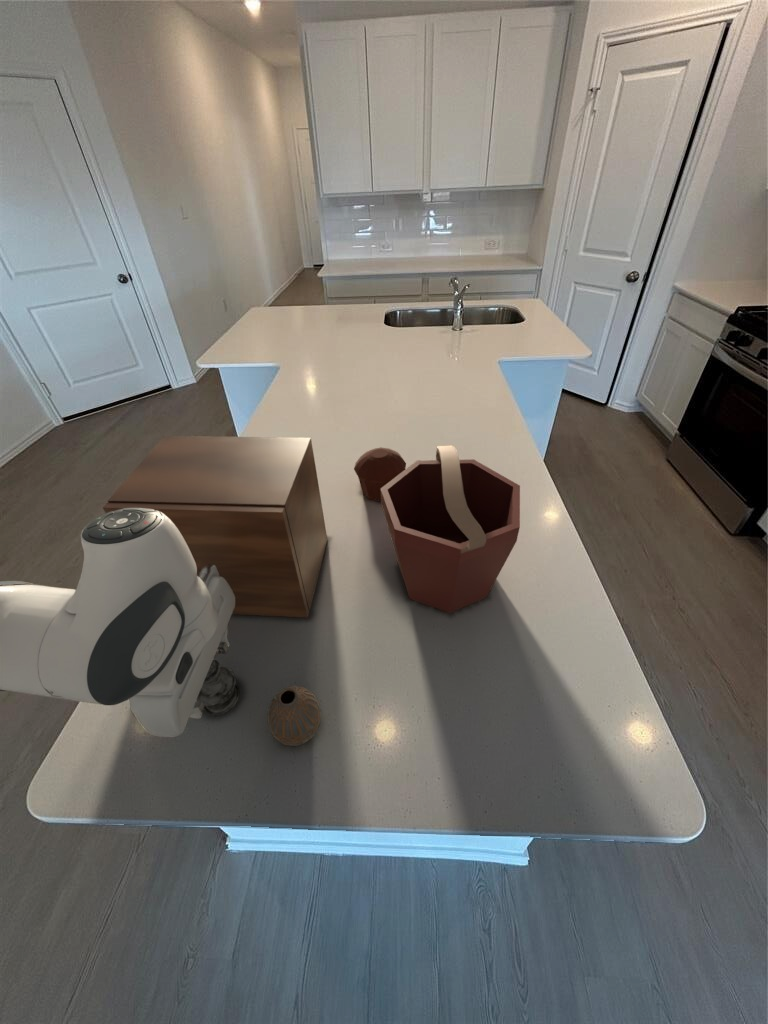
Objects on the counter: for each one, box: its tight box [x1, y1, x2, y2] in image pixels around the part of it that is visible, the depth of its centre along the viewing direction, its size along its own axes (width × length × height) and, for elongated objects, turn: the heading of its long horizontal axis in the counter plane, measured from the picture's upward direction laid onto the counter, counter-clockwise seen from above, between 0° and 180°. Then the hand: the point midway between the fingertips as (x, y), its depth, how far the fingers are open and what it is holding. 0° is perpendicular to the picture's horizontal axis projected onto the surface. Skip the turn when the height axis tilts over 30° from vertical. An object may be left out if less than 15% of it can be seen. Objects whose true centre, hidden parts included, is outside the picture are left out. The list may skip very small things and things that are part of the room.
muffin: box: [353, 447, 407, 503], centre depth 99 cm, size 12×11×10 cm
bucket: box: [380, 445, 521, 614], centre depth 73 cm, size 24×22×25 cm
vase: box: [267, 685, 322, 747], centre depth 58 cm, size 7×7×9 cm
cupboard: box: [107, 435, 328, 612], centre depth 76 cm, size 18×26×24 cm
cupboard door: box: [102, 502, 310, 618], centre depth 67 cm, size 6×26×24 cm, turn 85°
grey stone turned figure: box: [196, 659, 240, 716], centre depth 61 cm, size 6×6×12 cm
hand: (210, 679), depth 61 cm, fingers open, 8 cm apart
